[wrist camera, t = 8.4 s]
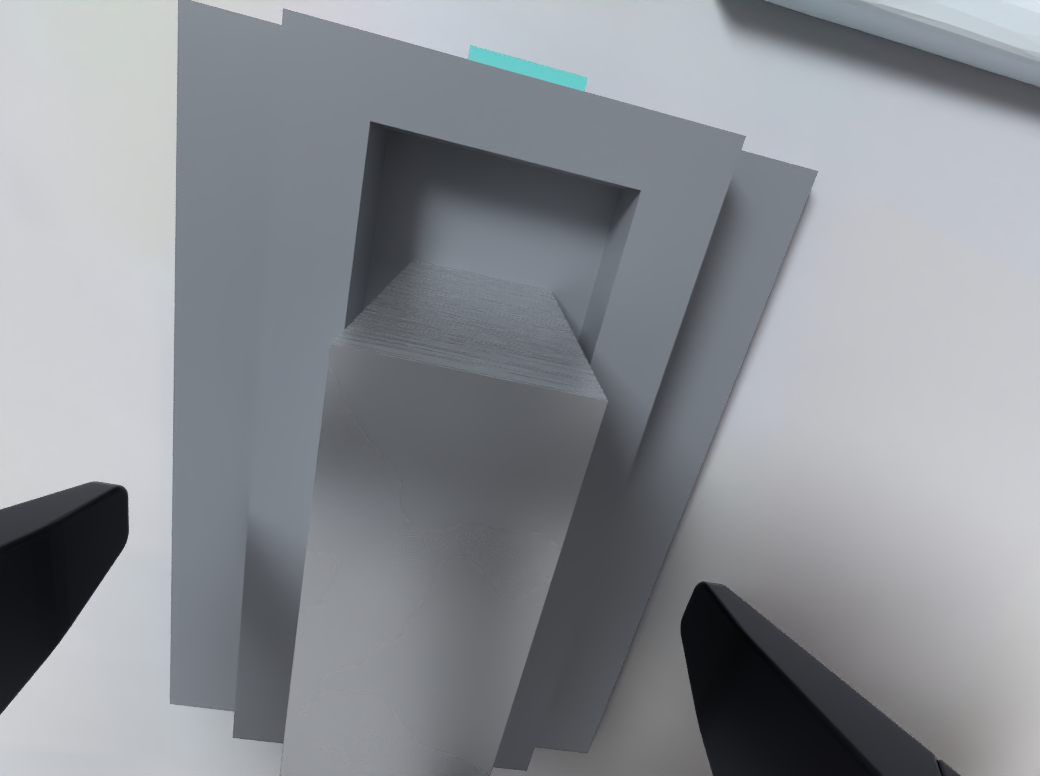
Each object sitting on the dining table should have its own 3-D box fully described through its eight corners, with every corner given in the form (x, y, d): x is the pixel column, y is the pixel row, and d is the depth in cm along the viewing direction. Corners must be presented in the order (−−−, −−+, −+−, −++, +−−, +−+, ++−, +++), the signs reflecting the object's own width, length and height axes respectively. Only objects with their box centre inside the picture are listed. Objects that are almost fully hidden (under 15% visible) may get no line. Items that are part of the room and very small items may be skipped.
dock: (584, 734, 14) (596, 809, 12) (181, 684, 13) (135, 759, 11) (806, 159, 9) (875, 155, 8) (196, -9, 8) (119, -57, 6)
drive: (464, 638, 12) (446, 925, 8) (351, 623, 12) (259, 911, 7) (553, 291, 9) (613, 402, 5) (410, 258, 9) (324, 343, 4)
